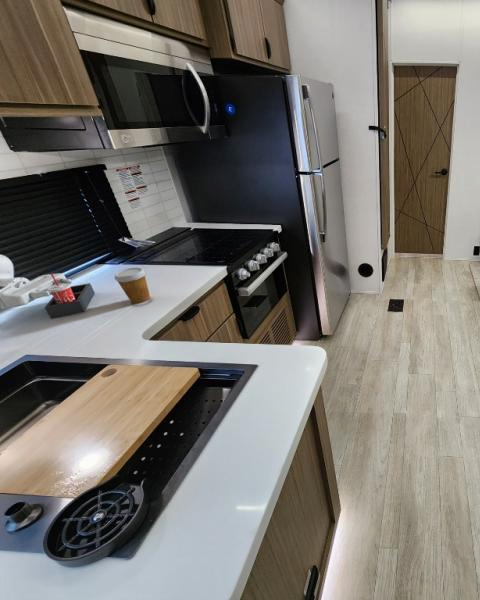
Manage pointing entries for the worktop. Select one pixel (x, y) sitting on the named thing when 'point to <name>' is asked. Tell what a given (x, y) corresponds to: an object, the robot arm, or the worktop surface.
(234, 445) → the worktop surface
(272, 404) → the worktop surface
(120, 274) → the disposable coffee cup
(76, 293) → the box
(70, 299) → the beverage cup
